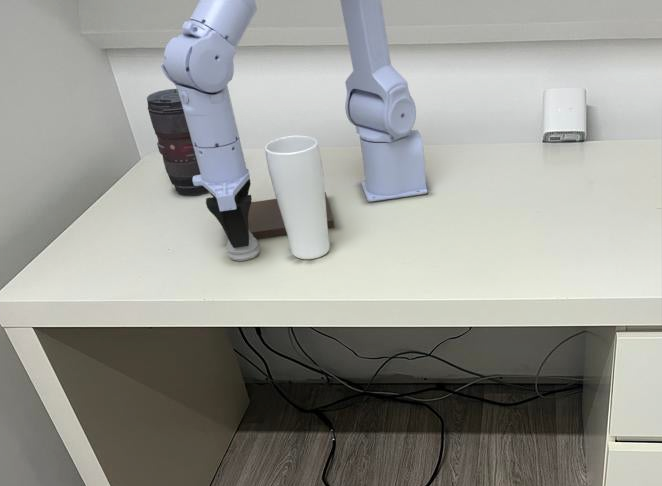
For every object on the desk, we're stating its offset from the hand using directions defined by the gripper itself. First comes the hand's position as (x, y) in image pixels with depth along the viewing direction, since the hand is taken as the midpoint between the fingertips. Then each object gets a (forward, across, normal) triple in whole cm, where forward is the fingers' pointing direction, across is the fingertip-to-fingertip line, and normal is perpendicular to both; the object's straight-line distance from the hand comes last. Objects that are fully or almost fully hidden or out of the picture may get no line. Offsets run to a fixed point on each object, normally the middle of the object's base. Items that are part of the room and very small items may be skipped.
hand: (240, 239), depth 101 cm
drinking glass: (+3, +2, +9) cm, 10 cm away
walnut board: (+2, -10, +6) cm, 12 cm away
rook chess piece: (+2, 0, 0) cm, 2 cm away
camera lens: (+3, -28, -7) cm, 28 cm away
